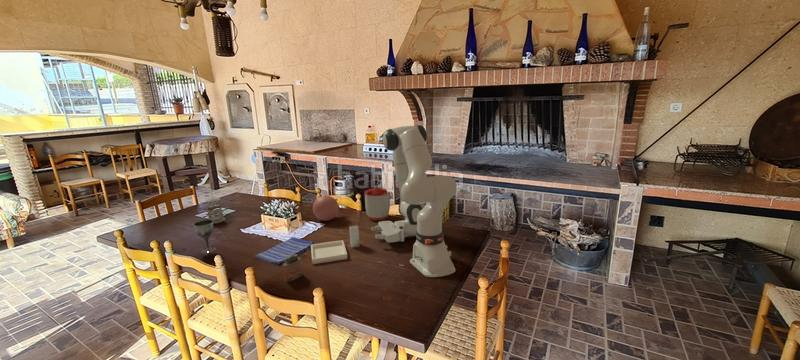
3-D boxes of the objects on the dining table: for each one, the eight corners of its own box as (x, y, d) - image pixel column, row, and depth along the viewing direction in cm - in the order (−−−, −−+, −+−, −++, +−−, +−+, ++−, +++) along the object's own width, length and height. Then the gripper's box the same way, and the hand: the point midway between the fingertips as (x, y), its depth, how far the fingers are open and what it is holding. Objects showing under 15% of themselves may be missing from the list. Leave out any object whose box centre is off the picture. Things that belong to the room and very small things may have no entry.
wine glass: (197, 255, 165) (191, 226, 161) (202, 248, 172) (196, 220, 168) (215, 252, 167) (210, 224, 163) (219, 245, 174) (214, 218, 170)
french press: (209, 218, 213) (202, 180, 206) (229, 216, 216) (223, 179, 210) (205, 224, 204) (198, 184, 197) (226, 221, 207) (220, 182, 201)
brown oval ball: (348, 215, 213) (347, 191, 209) (329, 226, 196) (326, 201, 192) (329, 211, 220) (327, 189, 216) (308, 222, 203) (306, 198, 199)
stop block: (359, 246, 169) (358, 228, 166) (351, 247, 168) (350, 229, 165) (358, 243, 173) (357, 225, 170) (350, 244, 172) (349, 226, 169)
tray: (347, 258, 157) (347, 254, 156) (312, 264, 153) (311, 259, 152) (343, 244, 172) (343, 240, 171) (311, 249, 168) (310, 244, 167)
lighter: (299, 272, 146) (297, 251, 144) (304, 274, 144) (301, 253, 142) (283, 280, 140) (280, 258, 138) (287, 283, 138) (284, 261, 136)
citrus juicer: (397, 219, 203) (396, 188, 198) (369, 224, 197) (368, 191, 192) (388, 211, 217) (387, 181, 212) (362, 215, 211) (360, 185, 206)
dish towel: (316, 246, 172) (315, 241, 171) (278, 266, 152) (278, 261, 152) (292, 239, 180) (292, 234, 180) (254, 258, 161) (253, 253, 160)
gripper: (393, 216, 184) (369, 220, 180) (404, 231, 165) (377, 234, 161) (394, 227, 186) (369, 230, 182) (404, 242, 167) (377, 246, 163)
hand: (373, 232), depth 172 cm, fingers open, 8 cm apart
